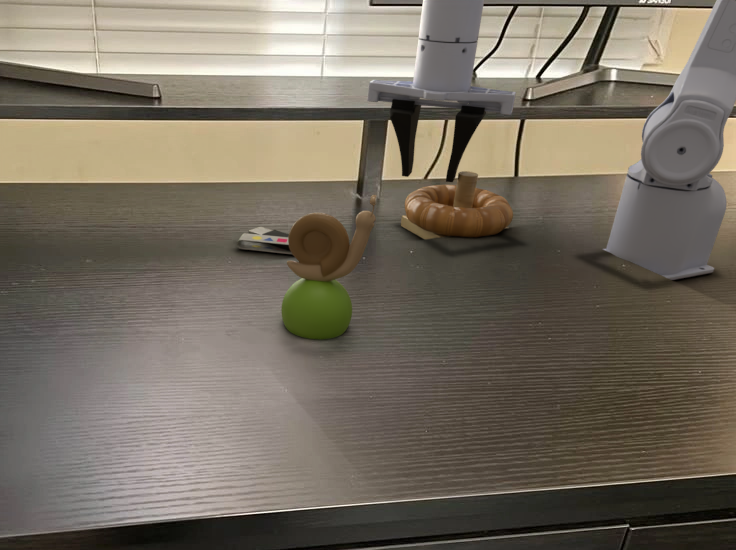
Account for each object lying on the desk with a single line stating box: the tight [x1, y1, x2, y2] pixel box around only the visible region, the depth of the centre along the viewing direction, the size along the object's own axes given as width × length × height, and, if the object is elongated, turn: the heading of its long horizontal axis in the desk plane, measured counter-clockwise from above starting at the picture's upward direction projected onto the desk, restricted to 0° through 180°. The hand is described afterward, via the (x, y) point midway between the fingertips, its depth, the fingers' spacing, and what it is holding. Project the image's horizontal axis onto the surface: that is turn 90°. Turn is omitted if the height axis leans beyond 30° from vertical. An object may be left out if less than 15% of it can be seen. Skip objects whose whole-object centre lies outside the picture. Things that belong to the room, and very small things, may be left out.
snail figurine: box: [280, 194, 378, 340], centre depth 55 cm, size 5×6×12 cm
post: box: [400, 170, 510, 240], centre depth 80 cm, size 9×9×7 cm
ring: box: [404, 184, 514, 238], centre depth 80 cm, size 11×11×3 cm
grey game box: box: [236, 226, 293, 255], centre depth 75 cm, size 9×5×1 cm, turn 49°
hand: (428, 177), depth 80 cm, fingers open, 4 cm apart
